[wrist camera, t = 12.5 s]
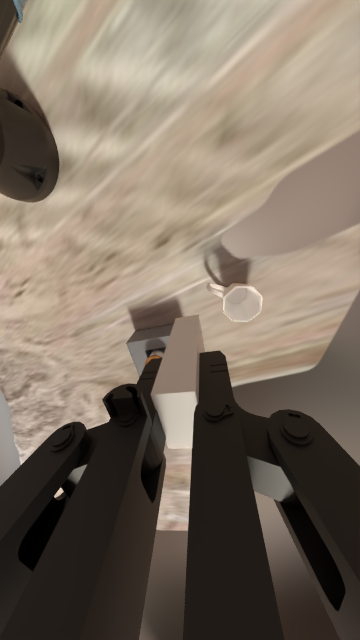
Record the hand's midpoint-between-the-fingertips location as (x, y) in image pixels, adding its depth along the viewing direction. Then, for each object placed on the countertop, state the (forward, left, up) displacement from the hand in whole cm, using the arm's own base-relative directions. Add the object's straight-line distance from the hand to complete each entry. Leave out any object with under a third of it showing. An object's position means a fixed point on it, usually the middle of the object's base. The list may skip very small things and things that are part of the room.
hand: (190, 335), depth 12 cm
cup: (+6, -4, -29) cm, 30 cm away
